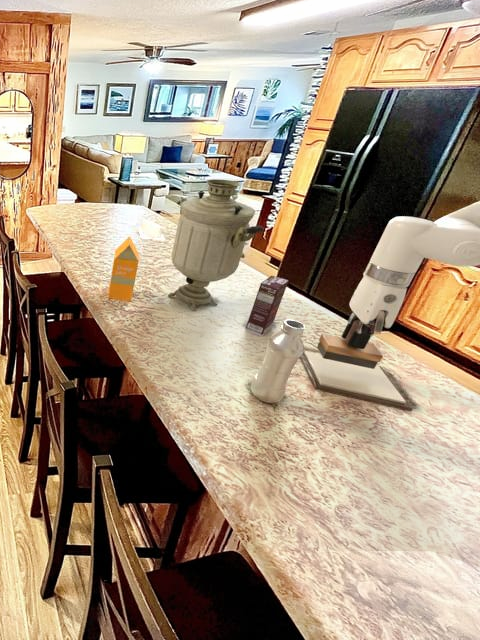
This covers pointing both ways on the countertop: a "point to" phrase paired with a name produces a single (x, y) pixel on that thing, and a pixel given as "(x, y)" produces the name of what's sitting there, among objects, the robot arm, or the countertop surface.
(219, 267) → the samovar
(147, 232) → the napkin holder
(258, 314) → the supplement box
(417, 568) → the countertop surface
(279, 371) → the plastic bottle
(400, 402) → the tile board
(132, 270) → the orange juice
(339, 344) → the scrub brush
